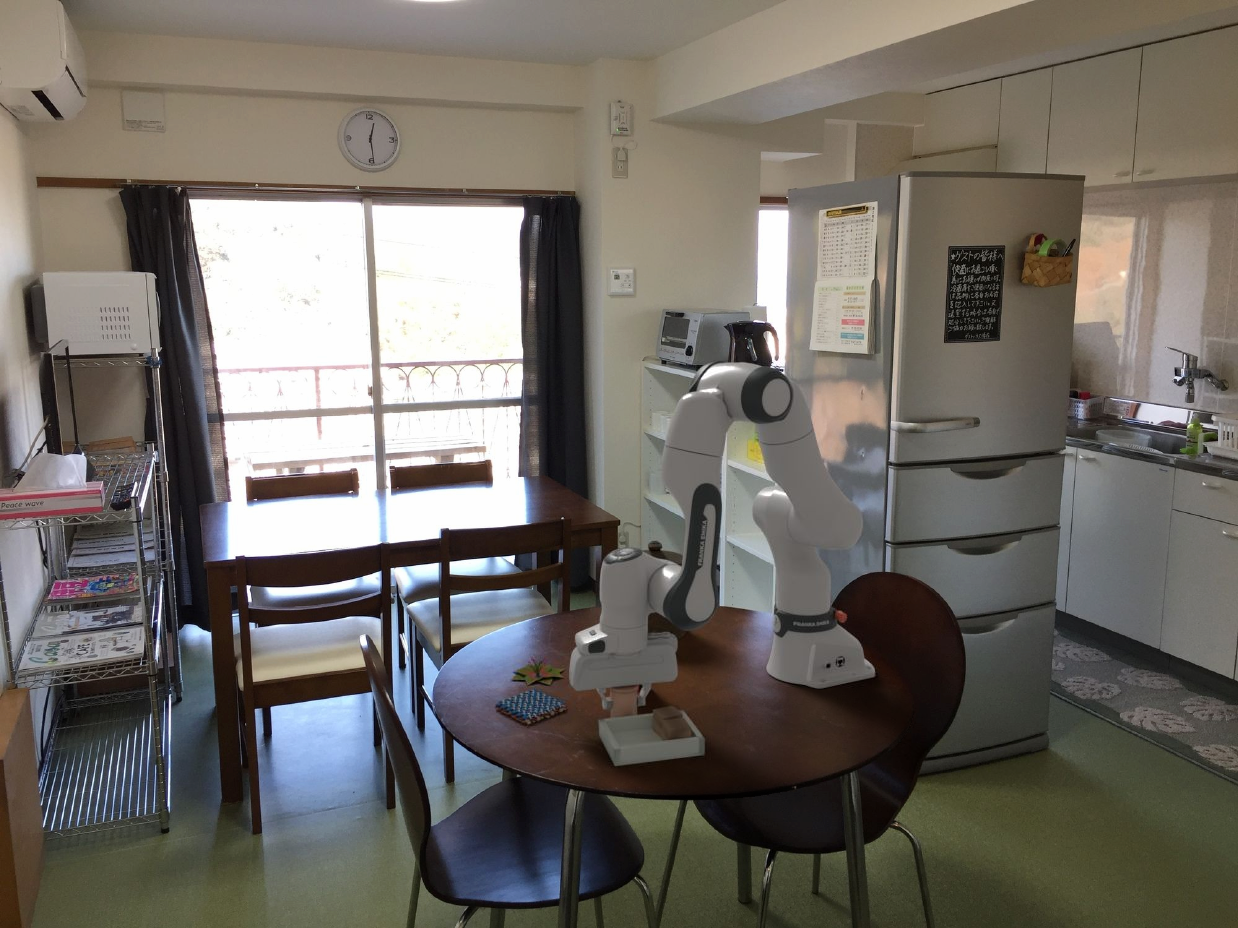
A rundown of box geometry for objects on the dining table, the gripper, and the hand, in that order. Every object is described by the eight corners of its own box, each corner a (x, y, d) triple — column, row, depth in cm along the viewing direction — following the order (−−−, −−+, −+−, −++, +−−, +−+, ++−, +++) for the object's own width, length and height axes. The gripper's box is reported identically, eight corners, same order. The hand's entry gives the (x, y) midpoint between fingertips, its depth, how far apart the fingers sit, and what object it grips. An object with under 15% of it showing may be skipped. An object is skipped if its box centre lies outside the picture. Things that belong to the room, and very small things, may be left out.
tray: (682, 724, 178) (683, 709, 178) (704, 754, 167) (704, 738, 166) (598, 734, 174) (598, 719, 174) (614, 765, 163) (614, 749, 162)
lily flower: (499, 684, 198) (499, 663, 197) (522, 663, 209) (522, 643, 208) (554, 692, 194) (554, 670, 193) (574, 670, 205) (574, 649, 205)
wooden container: (656, 617, 237) (657, 530, 234) (698, 633, 226) (700, 542, 222) (610, 630, 228) (609, 540, 224) (651, 648, 217) (652, 553, 213)
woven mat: (570, 711, 185) (570, 701, 185) (526, 728, 178) (526, 718, 178) (535, 695, 193) (535, 686, 192) (492, 711, 185) (492, 701, 185)
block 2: (683, 738, 171) (683, 717, 171) (690, 748, 168) (691, 727, 167) (662, 741, 170) (662, 720, 170) (668, 751, 167) (668, 729, 166)
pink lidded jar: (633, 712, 184) (633, 677, 183) (641, 724, 179) (641, 688, 177) (606, 715, 182) (606, 680, 181) (613, 727, 177) (613, 691, 176)
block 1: (672, 726, 176) (672, 705, 176) (682, 735, 173) (683, 714, 172) (652, 730, 175) (653, 709, 174) (662, 739, 171) (663, 718, 170)
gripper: (672, 625, 183) (671, 693, 186) (566, 634, 178) (567, 705, 181) (682, 636, 177) (681, 707, 180) (573, 646, 172) (574, 719, 175)
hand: (623, 706), depth 180 cm, fingers closed on pink lidded jar, 5 cm apart
